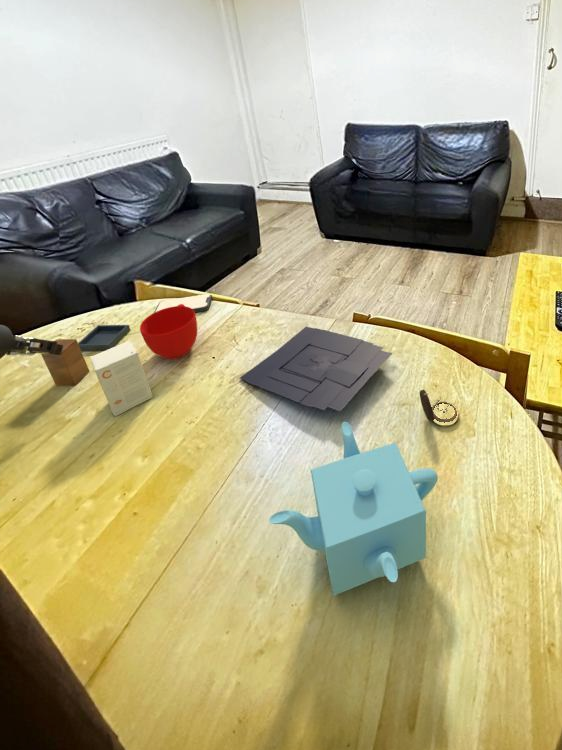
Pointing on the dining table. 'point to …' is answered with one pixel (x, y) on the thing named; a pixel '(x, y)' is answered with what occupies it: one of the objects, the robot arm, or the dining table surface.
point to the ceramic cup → (170, 331)
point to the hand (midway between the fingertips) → (42, 350)
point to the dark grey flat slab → (318, 368)
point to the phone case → (188, 302)
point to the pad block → (67, 364)
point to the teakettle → (365, 514)
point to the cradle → (103, 337)
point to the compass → (429, 410)
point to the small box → (121, 377)
